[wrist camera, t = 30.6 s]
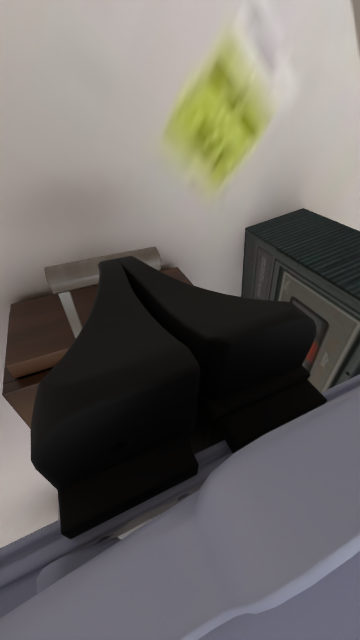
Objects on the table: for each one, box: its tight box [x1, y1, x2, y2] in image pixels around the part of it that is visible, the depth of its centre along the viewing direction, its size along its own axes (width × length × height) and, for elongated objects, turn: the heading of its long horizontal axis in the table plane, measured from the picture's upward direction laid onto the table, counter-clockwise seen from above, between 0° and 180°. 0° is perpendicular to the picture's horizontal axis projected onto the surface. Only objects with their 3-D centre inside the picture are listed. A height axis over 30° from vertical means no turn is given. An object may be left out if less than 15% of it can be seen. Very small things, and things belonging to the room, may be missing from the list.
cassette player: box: [241, 208, 360, 393], centre depth 28 cm, size 29×7×20 cm, turn 8°
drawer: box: [6, 247, 194, 378], centre depth 21 cm, size 16×13×6 cm
